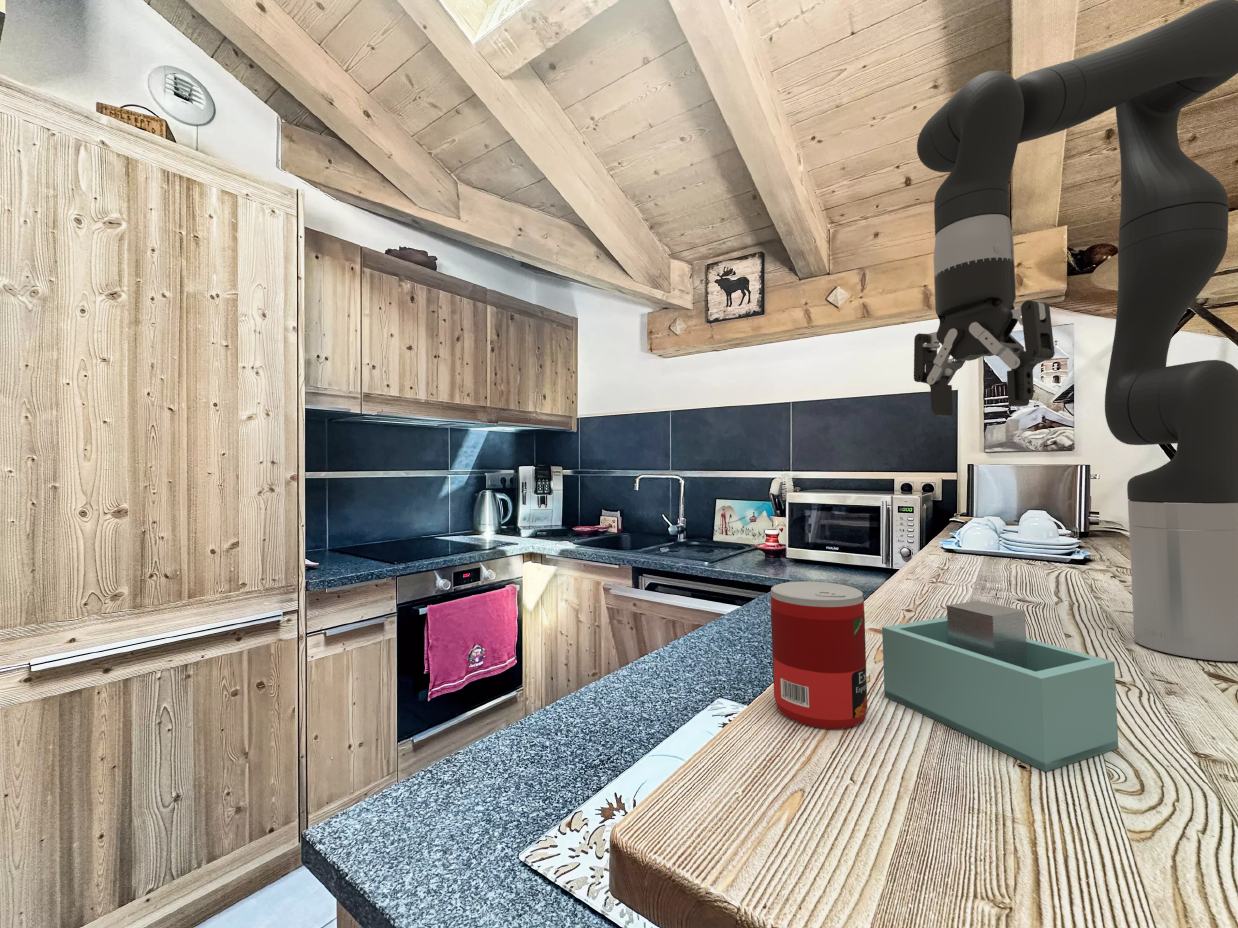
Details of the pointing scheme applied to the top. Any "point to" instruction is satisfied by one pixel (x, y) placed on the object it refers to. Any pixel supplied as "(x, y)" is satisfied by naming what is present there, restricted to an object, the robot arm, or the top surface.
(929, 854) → the top surface
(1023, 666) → the grey upright brick
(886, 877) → the top surface
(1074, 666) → the box
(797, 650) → the canned food
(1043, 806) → the top surface
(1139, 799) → the top surface
